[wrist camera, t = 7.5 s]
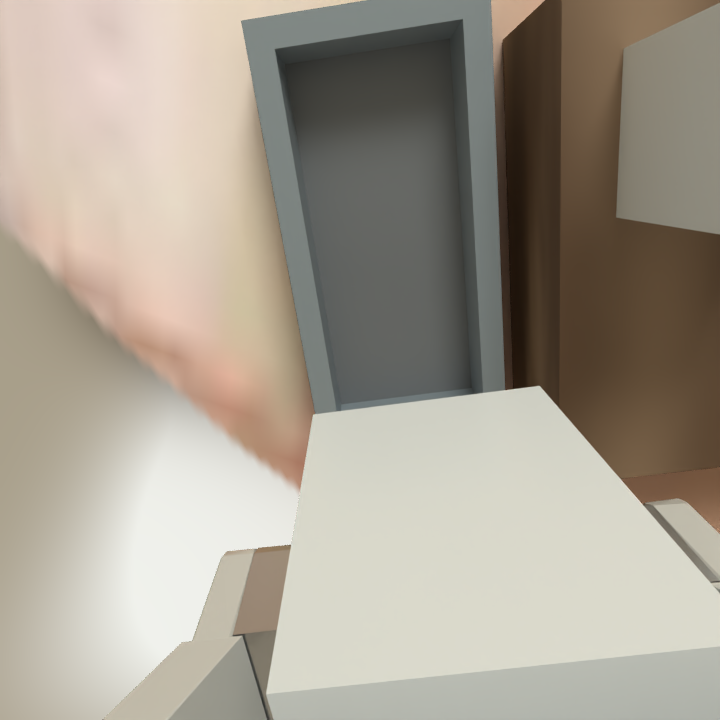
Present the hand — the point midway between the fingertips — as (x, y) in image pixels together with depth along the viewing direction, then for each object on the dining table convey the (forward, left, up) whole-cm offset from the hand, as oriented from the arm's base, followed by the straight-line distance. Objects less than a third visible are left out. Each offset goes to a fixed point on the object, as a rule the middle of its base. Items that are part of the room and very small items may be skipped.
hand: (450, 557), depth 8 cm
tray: (0, -3, -13) cm, 13 cm away
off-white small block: (0, 0, -2) cm, 2 cm away
